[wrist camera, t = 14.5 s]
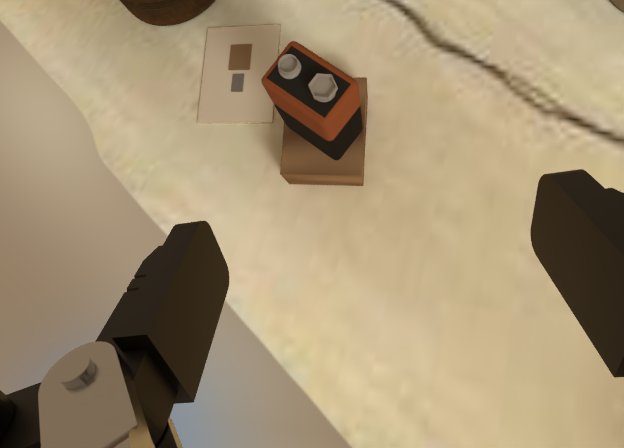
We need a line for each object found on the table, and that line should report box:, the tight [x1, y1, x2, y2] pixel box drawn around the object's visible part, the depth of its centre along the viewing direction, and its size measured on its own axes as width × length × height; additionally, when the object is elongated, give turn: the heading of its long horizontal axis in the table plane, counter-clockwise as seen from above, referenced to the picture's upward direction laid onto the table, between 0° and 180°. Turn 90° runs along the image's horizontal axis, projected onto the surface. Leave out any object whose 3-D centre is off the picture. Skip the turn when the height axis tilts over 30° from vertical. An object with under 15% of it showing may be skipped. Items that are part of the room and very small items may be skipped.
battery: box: [261, 41, 363, 160], centre depth 33 cm, size 4×7×10 cm, turn 52°
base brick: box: [280, 78, 368, 186], centre depth 40 cm, size 10×8×4 cm
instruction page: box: [197, 24, 281, 123], centre depth 45 cm, size 12×9×1 cm
